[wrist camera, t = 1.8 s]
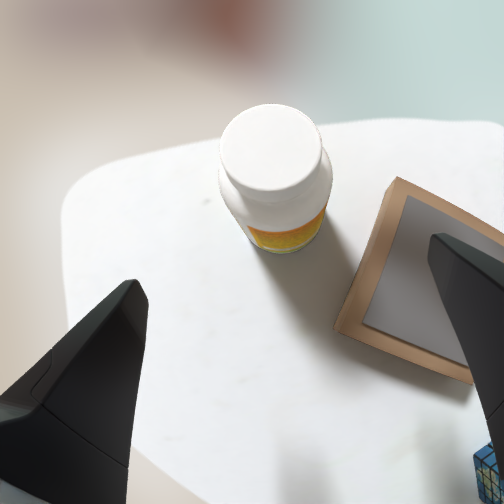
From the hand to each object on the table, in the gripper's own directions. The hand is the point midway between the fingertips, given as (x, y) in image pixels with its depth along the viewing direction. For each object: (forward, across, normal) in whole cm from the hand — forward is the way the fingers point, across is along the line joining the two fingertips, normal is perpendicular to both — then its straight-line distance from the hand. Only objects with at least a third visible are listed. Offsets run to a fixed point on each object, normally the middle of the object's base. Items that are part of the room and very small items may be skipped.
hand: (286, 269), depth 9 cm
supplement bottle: (+12, 0, +5) cm, 13 cm away
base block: (+7, -9, +9) cm, 15 cm away
